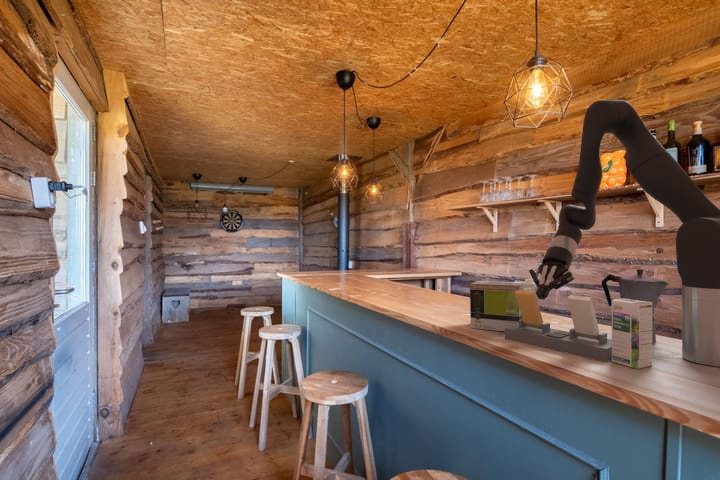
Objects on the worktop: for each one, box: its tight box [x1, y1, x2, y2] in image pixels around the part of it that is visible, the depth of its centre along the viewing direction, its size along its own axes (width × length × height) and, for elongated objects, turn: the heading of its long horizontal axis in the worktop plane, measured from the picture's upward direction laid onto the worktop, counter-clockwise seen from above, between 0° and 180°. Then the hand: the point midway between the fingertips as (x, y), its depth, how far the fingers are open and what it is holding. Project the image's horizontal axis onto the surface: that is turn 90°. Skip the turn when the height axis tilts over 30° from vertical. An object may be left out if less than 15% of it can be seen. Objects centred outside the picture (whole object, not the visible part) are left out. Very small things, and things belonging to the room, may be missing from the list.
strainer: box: [519, 278, 537, 293], centre depth 127 cm, size 7×7×15 cm
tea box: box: [469, 280, 525, 332], centre depth 121 cm, size 15×10×15 cm, turn 58°
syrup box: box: [611, 298, 653, 370], centre depth 85 cm, size 6×6×14 cm
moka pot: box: [601, 268, 670, 345], centre depth 105 cm, size 10×15×20 cm, turn 53°
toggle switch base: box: [504, 319, 612, 363], centre depth 100 cm, size 26×10×5 cm, turn 36°
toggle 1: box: [515, 290, 544, 329], centre depth 104 cm, size 5×2×12 cm, turn 36°
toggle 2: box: [567, 294, 600, 340], centre depth 93 cm, size 5×2×12 cm, turn 36°
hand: (540, 297), depth 108 cm, fingers closed
